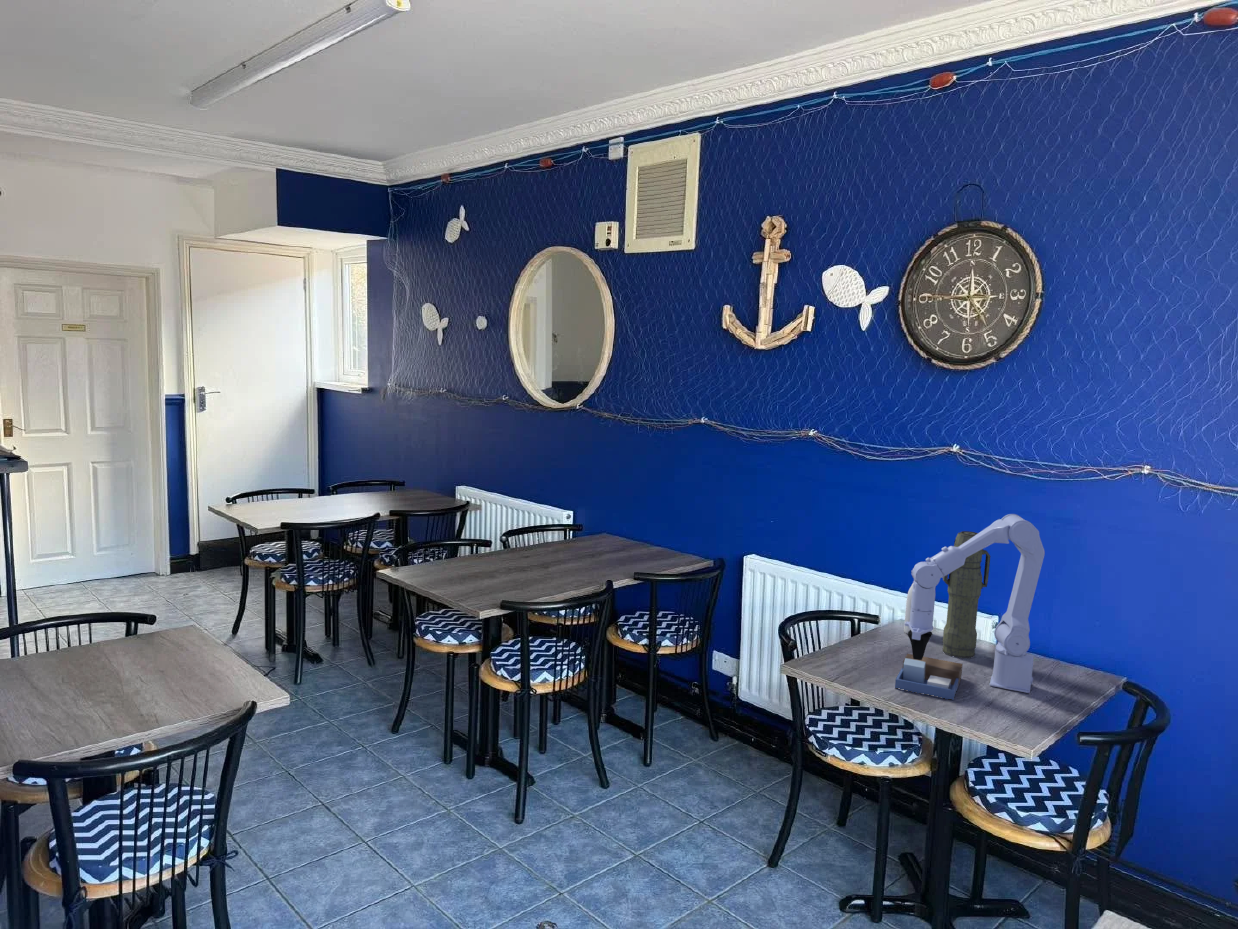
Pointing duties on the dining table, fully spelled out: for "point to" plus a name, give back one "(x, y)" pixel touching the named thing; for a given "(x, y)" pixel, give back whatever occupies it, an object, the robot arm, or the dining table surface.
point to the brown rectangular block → (940, 668)
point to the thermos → (964, 601)
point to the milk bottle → (908, 609)
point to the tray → (926, 687)
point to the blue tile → (914, 670)
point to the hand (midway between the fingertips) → (917, 659)
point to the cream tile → (939, 682)
